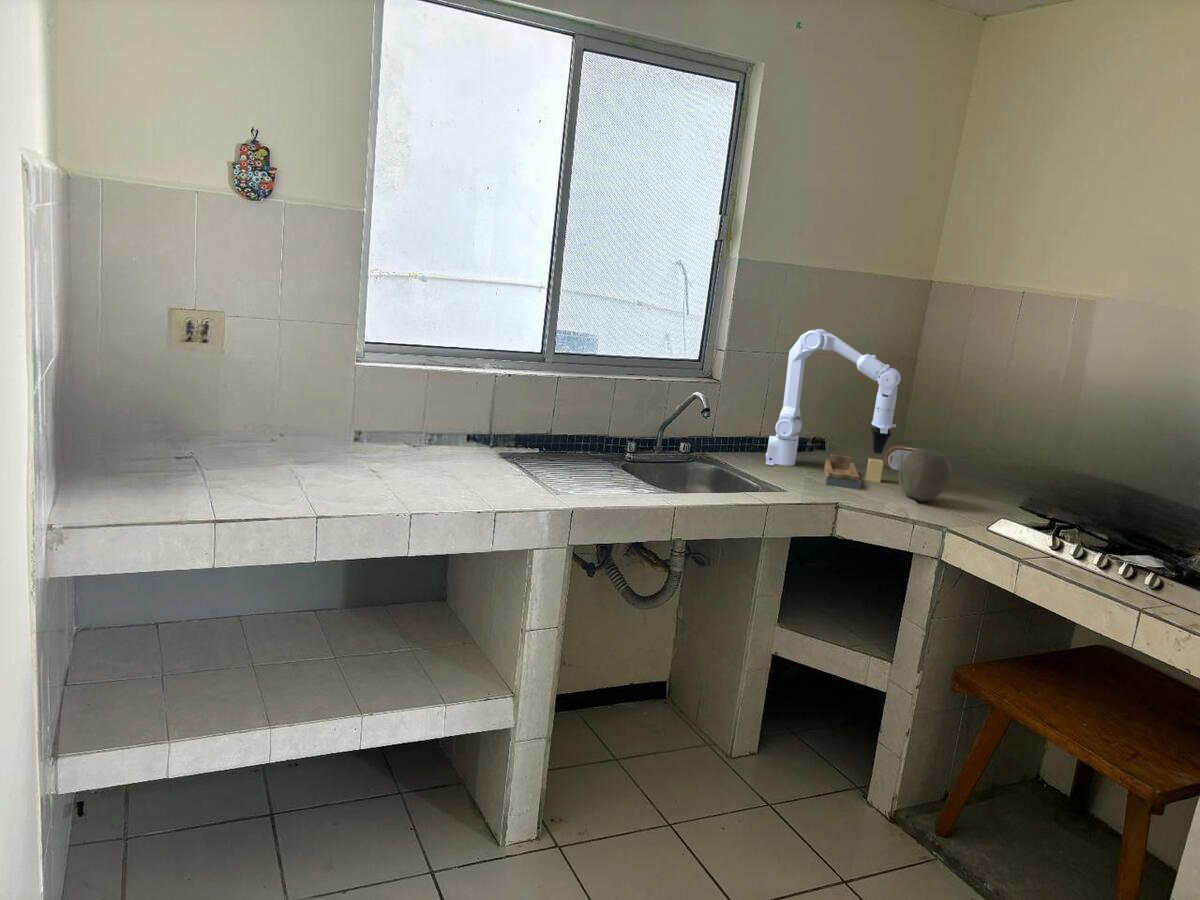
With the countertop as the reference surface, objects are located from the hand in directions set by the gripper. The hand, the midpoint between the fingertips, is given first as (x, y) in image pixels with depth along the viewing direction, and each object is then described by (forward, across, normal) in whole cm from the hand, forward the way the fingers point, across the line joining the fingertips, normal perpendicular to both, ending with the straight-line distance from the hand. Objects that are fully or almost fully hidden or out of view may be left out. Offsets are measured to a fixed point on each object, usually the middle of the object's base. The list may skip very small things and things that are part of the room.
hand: (877, 452), depth 285 cm
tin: (+10, +22, -13) cm, 27 cm away
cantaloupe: (+10, -15, -12) cm, 21 cm away
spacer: (+10, 0, 0) cm, 10 cm away
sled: (+9, -3, +10) cm, 14 cm away
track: (+9, -2, +10) cm, 14 cm away
